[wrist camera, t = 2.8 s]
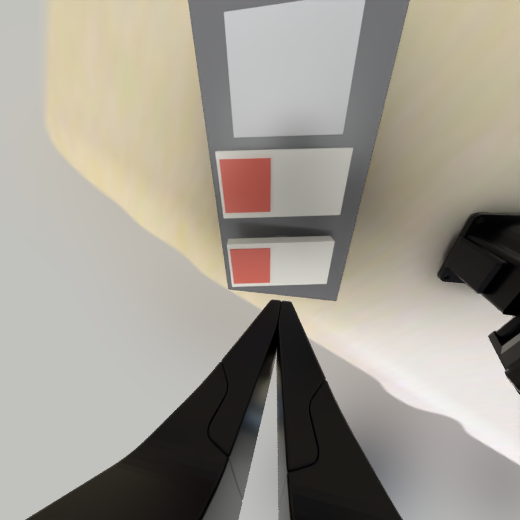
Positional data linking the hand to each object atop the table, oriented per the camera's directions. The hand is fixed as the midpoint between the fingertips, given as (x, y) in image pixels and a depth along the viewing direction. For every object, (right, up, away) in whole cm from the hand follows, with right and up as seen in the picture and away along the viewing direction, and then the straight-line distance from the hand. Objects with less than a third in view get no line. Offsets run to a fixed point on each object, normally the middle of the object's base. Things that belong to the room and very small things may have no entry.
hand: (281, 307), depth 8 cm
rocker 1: (+1, +7, +5) cm, 8 cm away
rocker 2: (+1, +2, +8) cm, 8 cm away
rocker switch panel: (+1, +9, +9) cm, 12 cm away
